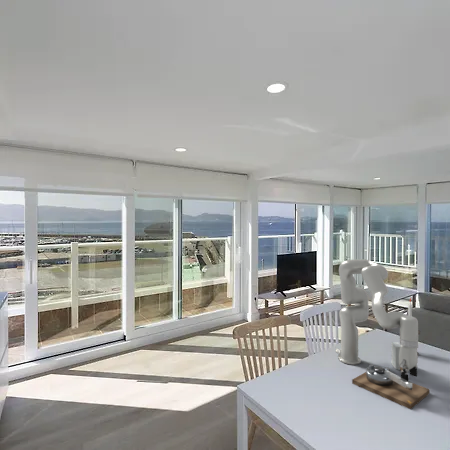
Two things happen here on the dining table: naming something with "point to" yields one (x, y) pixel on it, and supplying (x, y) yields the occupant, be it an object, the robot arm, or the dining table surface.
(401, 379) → the faucet lever handle
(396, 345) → the supplement box
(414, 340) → the robot arm
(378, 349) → the dining table surface
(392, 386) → the wooden base
